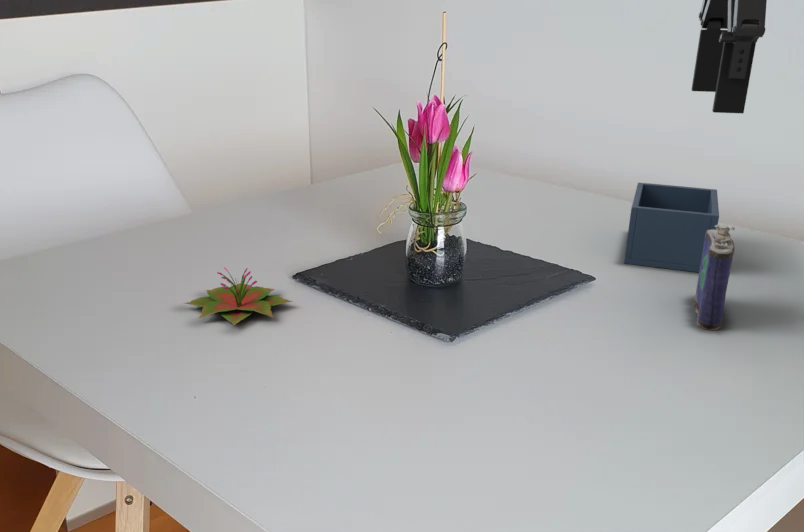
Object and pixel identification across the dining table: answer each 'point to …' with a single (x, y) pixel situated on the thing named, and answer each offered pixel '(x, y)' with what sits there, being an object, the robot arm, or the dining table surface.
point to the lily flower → (237, 300)
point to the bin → (670, 226)
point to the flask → (713, 277)
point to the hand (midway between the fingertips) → (715, 101)
